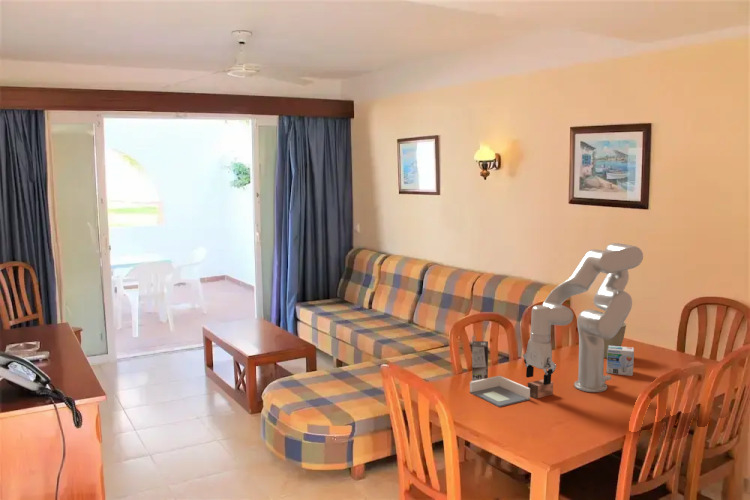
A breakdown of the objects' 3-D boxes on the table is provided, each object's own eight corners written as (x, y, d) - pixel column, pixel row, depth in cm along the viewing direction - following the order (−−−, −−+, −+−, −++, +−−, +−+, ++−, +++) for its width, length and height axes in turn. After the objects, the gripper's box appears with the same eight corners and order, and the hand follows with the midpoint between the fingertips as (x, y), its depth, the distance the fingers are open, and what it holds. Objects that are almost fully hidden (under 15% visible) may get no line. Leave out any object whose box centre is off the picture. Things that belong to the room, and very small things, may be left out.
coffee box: (487, 385, 264) (487, 346, 262) (471, 384, 265) (471, 346, 263) (488, 378, 273) (488, 340, 271) (472, 377, 274) (472, 340, 272)
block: (544, 391, 256) (545, 378, 255) (552, 394, 252) (553, 382, 251) (527, 395, 252) (527, 382, 251) (535, 398, 248) (535, 386, 247)
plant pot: (588, 351, 308) (589, 318, 306) (620, 352, 306) (621, 319, 304) (594, 360, 294) (595, 326, 292) (628, 361, 292) (629, 327, 290)
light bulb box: (606, 373, 276) (607, 349, 274) (607, 368, 282) (607, 344, 281) (633, 376, 272) (634, 351, 270) (633, 371, 278) (634, 347, 277)
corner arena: (499, 386, 262) (499, 375, 262) (529, 399, 247) (530, 388, 246) (469, 392, 255) (469, 381, 255) (499, 407, 240) (499, 395, 239)
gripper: (517, 333, 254) (515, 375, 256) (549, 344, 239) (546, 388, 241) (532, 331, 258) (530, 373, 260) (563, 341, 243) (561, 385, 245)
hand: (538, 380), depth 251 cm, fingers open, 9 cm apart
